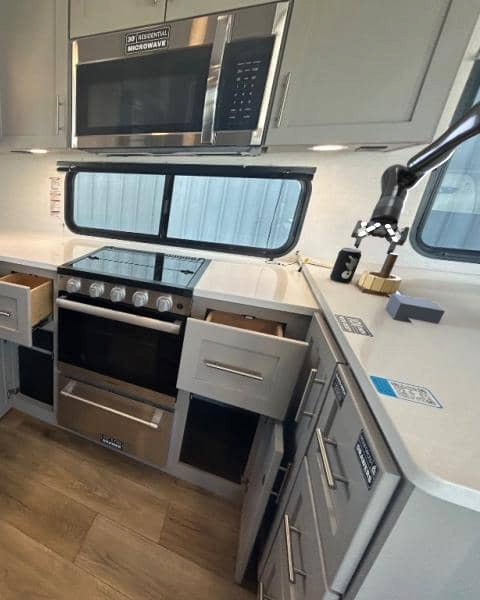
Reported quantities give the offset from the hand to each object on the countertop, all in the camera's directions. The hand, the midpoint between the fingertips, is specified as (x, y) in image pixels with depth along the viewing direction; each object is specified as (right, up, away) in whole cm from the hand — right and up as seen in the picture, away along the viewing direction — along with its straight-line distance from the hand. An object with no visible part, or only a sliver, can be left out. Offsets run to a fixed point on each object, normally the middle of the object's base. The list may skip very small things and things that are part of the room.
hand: (372, 249), depth 110 cm
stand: (+5, -14, +4) cm, 15 cm away
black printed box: (-1, -10, +13) cm, 16 cm away
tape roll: (+4, -12, +3) cm, 14 cm away
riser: (-4, -22, -16) cm, 28 cm away
